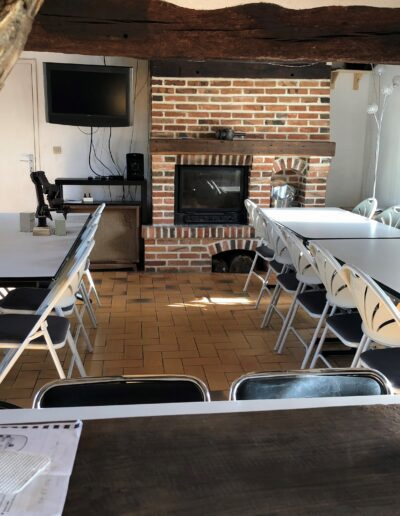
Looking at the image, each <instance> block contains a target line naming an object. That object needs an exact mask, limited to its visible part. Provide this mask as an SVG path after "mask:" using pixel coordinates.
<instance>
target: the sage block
mask: <svg viewBox="0 0 400 516" xmlns="http://www.w3.org/2000/svg"><path fill="white" fill-rule="evenodd" d="M54 225H55V227H54V231H55V234H54V235H55V236H66V233H67V232H66V231H67V230H66V228H67V227H66V220H65V218H55V219H54Z"/></svg>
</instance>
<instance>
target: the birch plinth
mask: <svg viewBox="0 0 400 516" xmlns="http://www.w3.org/2000/svg"><path fill="white" fill-rule="evenodd" d="M50 229H51V228H50V227H49V226H47V227H37V226H35V227H34V228H33V231H32V236H34V237H39V236H40V237H41V236H43V237H45V236H50V234H51V233H50V232H51V230H50Z"/></svg>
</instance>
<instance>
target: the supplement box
mask: <svg viewBox="0 0 400 516" xmlns="http://www.w3.org/2000/svg"><path fill="white" fill-rule="evenodd" d="M35 213H36V211H21V212H19V232H23V233H25V232H26V233H32V232H33V228H34V227H36V218H35Z"/></svg>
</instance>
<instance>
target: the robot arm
mask: <svg viewBox="0 0 400 516" xmlns="http://www.w3.org/2000/svg"><path fill="white" fill-rule="evenodd" d="M29 177H30V179H31V182H32V183H33V184H34V188H35V194H36V199H37V207H36V210H35V219H37V225H36V227H49V225H48V224H47V223H48V221H47V219H49V220H50V221H51V222H53V221H54V219H53V217H52V214H51V212H54V213H55V212H62V216H63V219H65V221H67V219H68V217H67V215H68V214H69V213H70V211H71V206H70V205H63V207H61V204H63V203H64V202H65V199H64V198H63V197H59V198H57V197H58V195H59V192H60V187H59V185H56V184H55V183H50V181H49V180H48V177H47V175H46V172H45V171H44V170H37V171H36V170H35V171H31V173H30V174H29ZM45 196H46V201H47V203H48V204H47V203H46V201H45Z"/></svg>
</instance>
